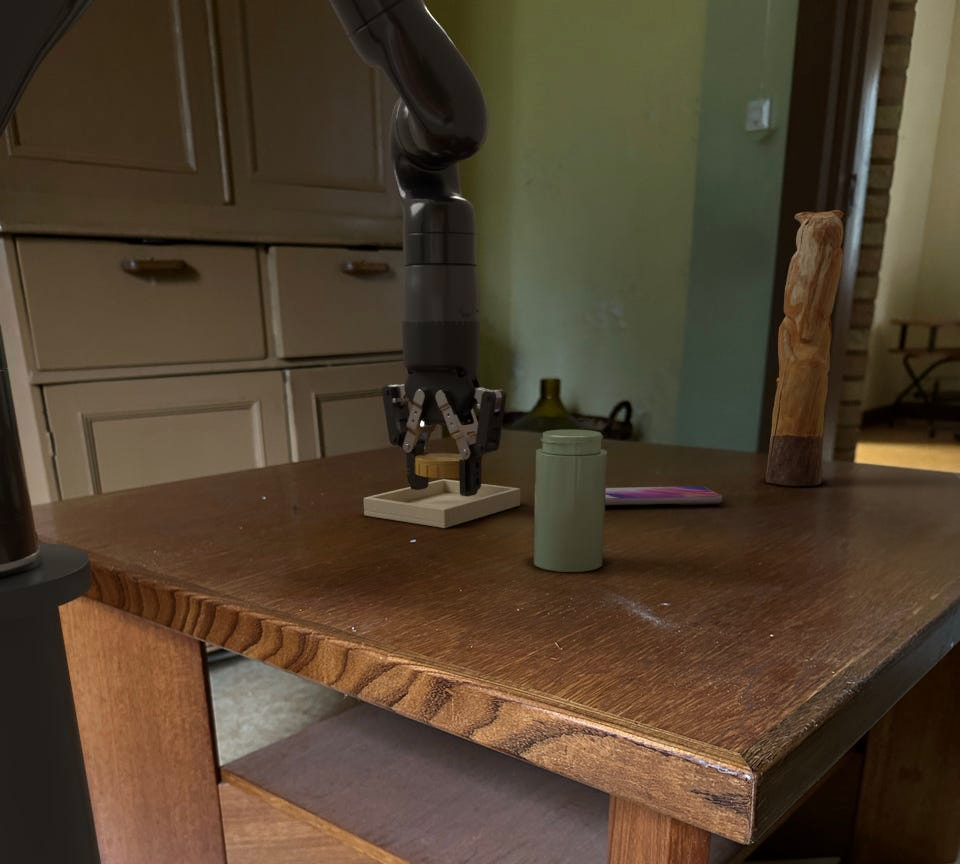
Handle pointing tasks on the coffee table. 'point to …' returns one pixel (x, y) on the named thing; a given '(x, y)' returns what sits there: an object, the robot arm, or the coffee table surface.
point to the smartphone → (661, 496)
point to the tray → (440, 503)
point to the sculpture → (805, 352)
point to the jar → (570, 501)
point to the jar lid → (438, 465)
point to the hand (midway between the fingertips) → (443, 491)
